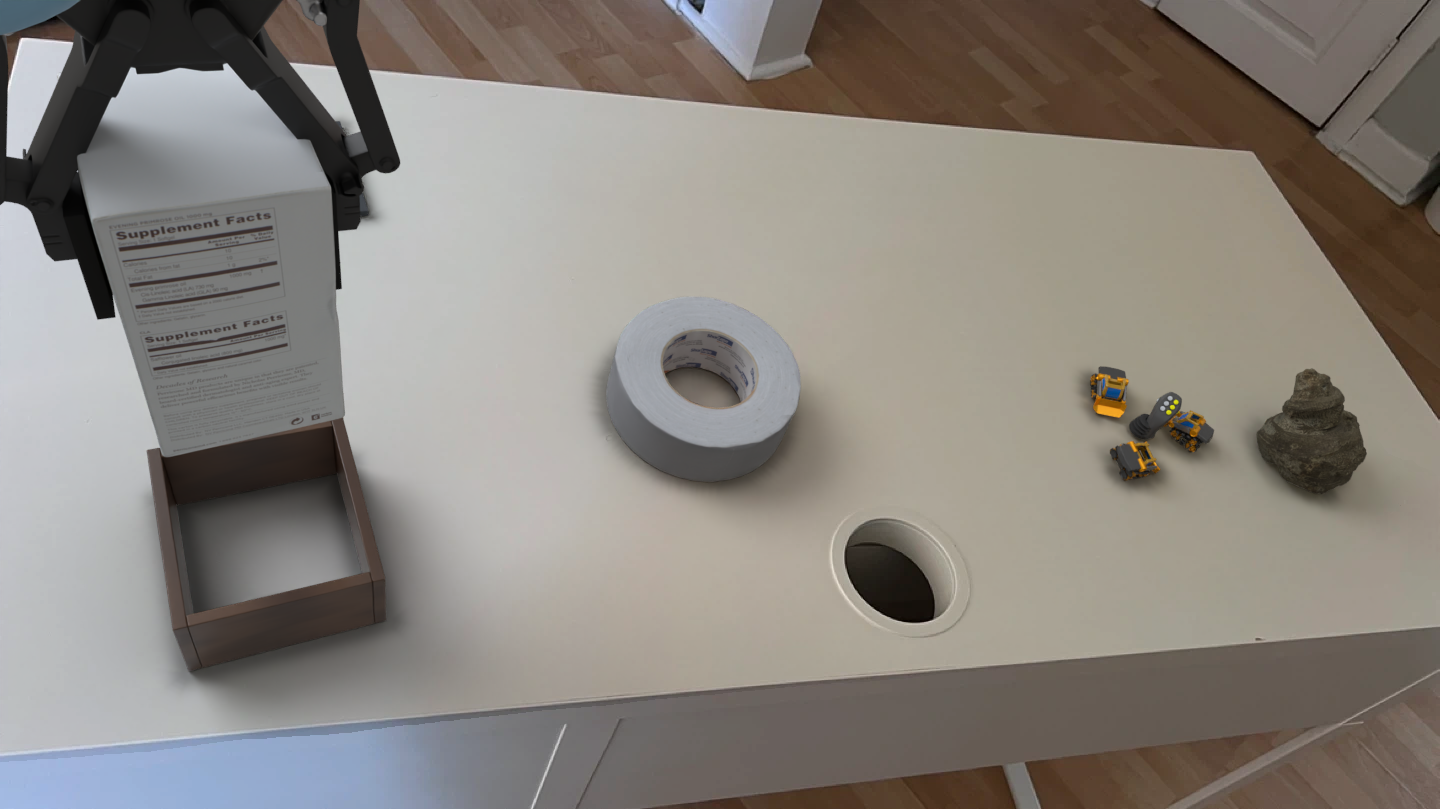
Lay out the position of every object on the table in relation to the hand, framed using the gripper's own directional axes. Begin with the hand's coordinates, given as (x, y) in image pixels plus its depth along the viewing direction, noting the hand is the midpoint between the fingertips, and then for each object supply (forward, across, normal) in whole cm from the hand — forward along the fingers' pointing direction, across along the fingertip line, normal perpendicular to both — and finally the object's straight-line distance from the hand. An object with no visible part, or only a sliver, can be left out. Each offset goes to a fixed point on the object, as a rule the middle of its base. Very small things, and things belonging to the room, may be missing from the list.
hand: (221, 283), depth 52 cm
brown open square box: (+26, 0, +1) cm, 26 cm away
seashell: (+26, -89, +16) cm, 94 cm away
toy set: (+26, -73, +8) cm, 78 cm away
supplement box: (+7, 0, 0) cm, 7 cm away
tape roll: (+27, -34, -5) cm, 43 cm away
